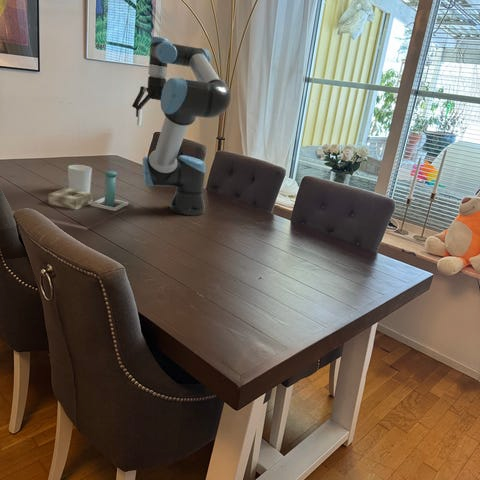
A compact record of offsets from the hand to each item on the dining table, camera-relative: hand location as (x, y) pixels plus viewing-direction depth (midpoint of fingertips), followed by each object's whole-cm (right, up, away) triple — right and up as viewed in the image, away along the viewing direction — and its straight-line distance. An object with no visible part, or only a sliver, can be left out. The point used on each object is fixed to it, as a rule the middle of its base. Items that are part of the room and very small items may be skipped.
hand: (153, 127), depth 197 cm
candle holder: (-32, -30, -1) cm, 44 cm away
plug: (-16, -35, -12) cm, 41 cm away
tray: (-16, -36, -12) cm, 41 cm away
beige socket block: (-30, -36, -17) cm, 50 cm away
